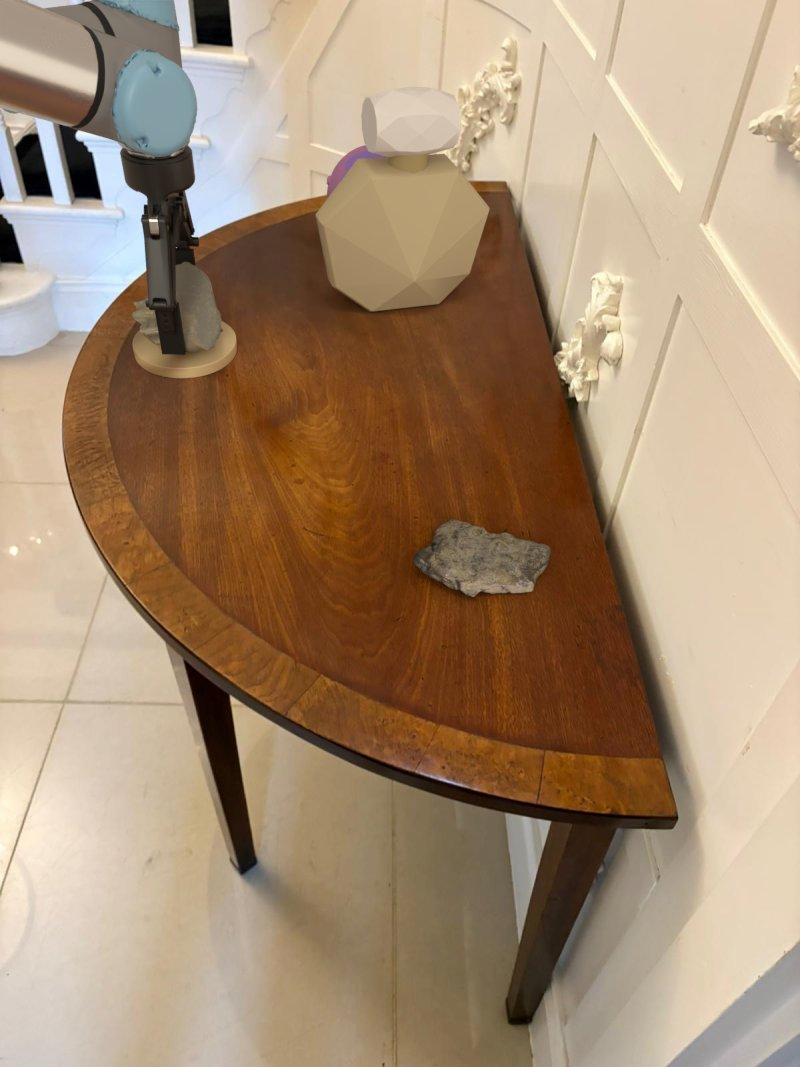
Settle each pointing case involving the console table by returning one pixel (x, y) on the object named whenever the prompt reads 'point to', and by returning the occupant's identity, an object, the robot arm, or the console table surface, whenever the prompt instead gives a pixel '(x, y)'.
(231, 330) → the maple disc
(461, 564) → the stone
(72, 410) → the console table surface
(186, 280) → the fossil
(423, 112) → the perfume bottle
